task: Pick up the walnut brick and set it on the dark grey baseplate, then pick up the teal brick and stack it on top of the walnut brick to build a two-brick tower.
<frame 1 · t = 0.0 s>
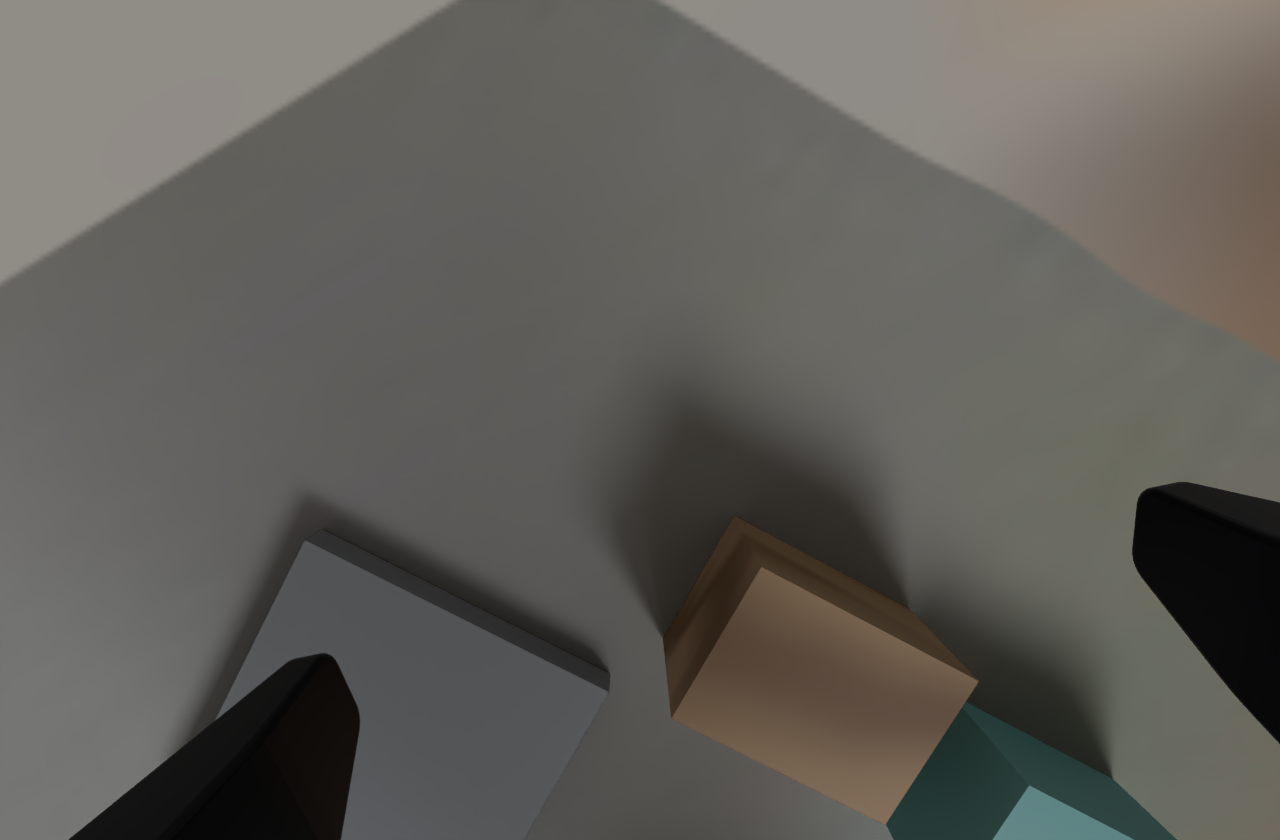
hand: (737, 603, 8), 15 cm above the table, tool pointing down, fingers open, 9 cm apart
walnut brick: (785, 621, 24), on the table
teal brick: (993, 790, 25), on the table
baseplate: (398, 733, 25), on the table
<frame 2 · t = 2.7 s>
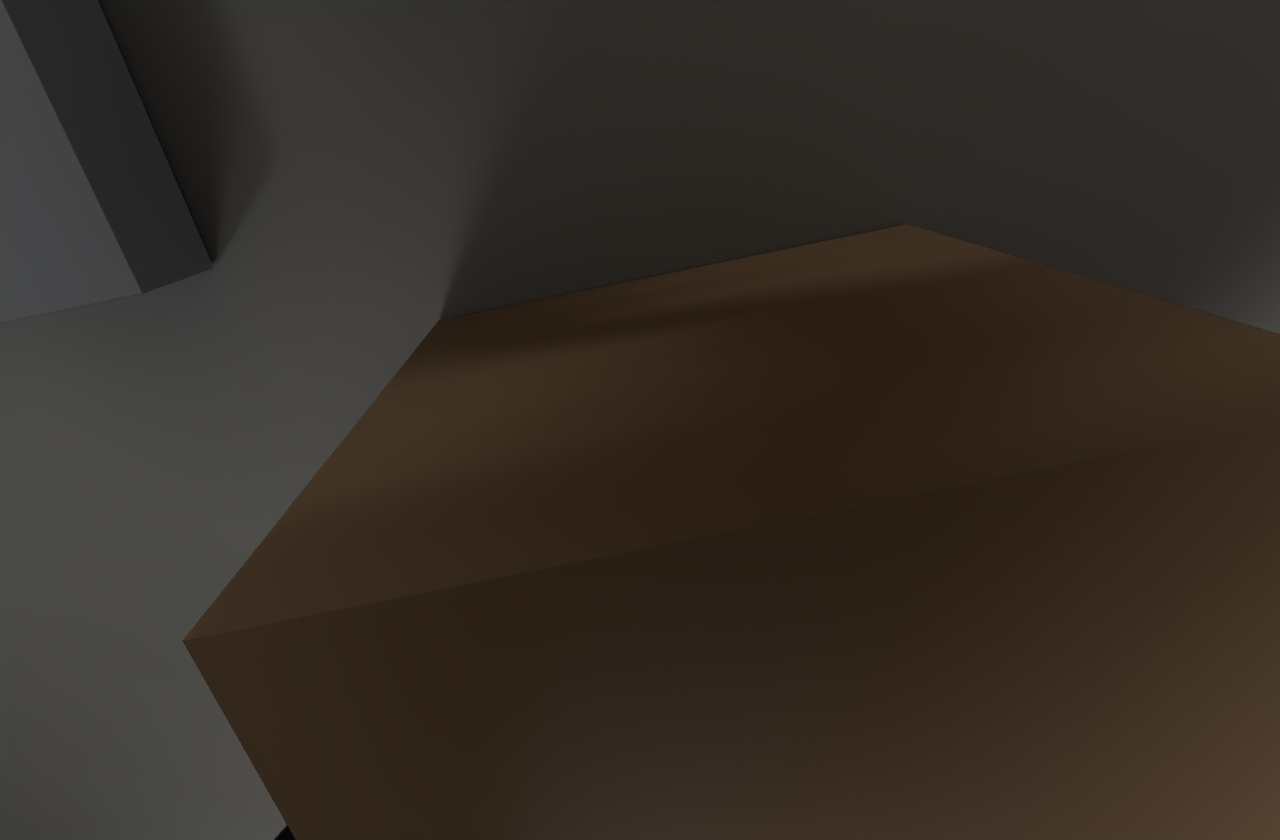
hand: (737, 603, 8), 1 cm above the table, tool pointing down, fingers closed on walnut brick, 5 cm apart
walnut brick: (720, 549, 9), on the table, touching gripper
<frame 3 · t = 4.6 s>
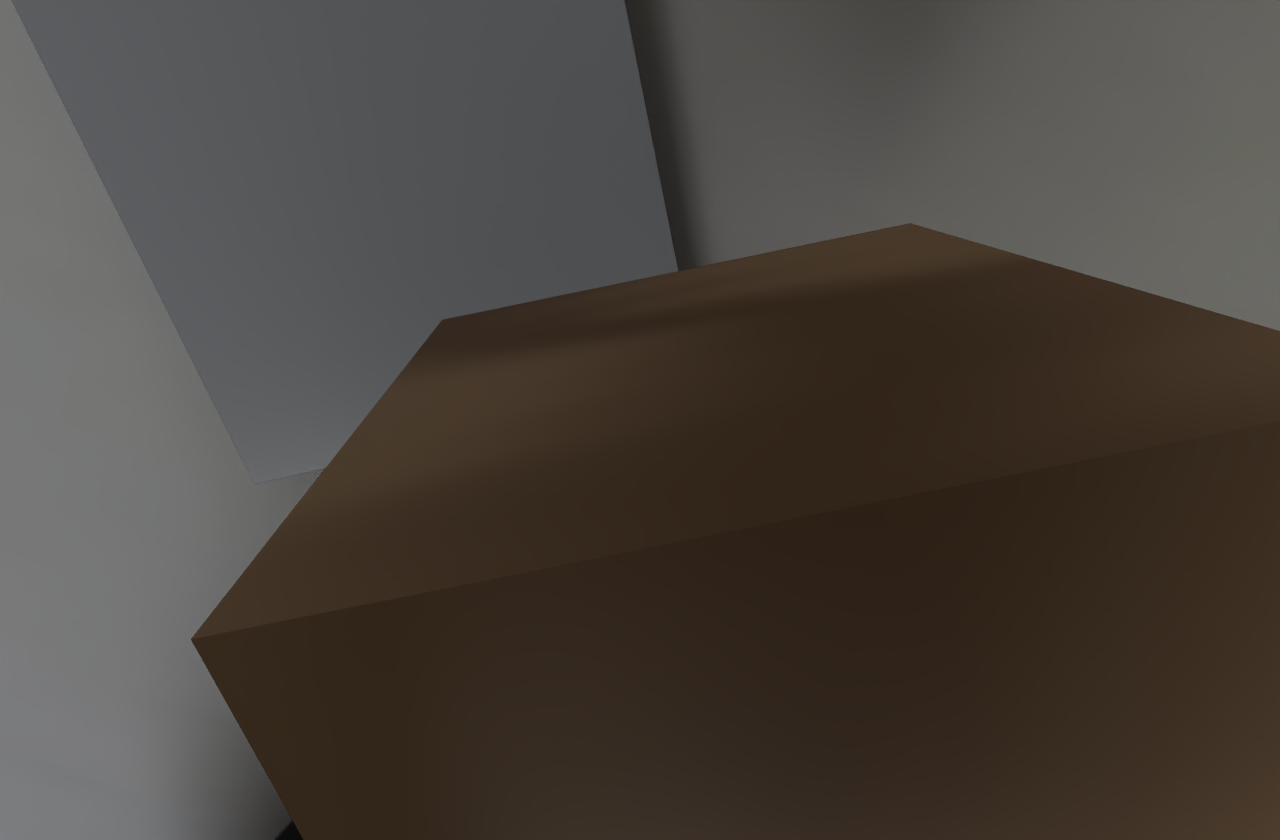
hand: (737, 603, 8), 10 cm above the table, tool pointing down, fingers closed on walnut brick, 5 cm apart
walnut brick: (722, 549, 9), point 9 cm above the table, touching gripper
baseplate: (407, 193, 16), on the table
when the fingers open (4 cm above the table, at t = 6.9 s): walnut brick drops 1 cm, resting on baseplate.
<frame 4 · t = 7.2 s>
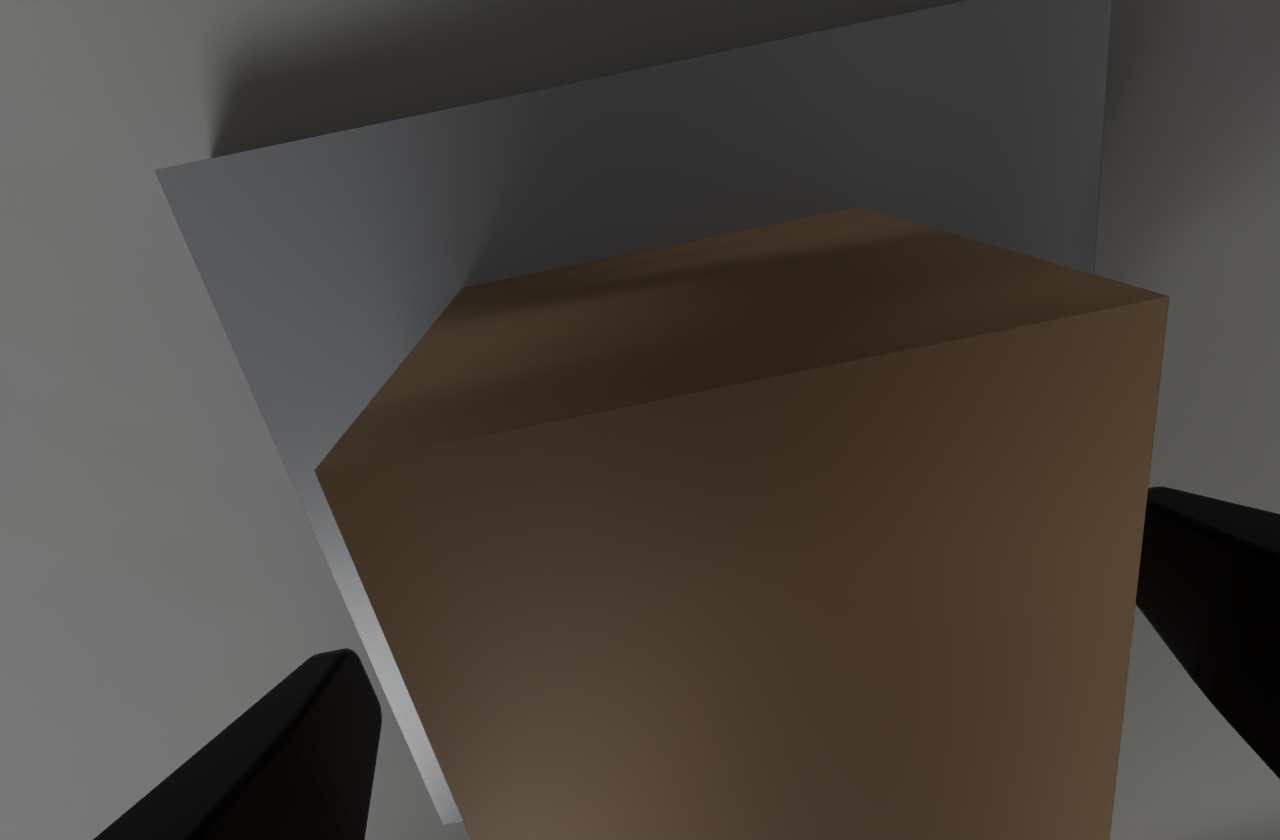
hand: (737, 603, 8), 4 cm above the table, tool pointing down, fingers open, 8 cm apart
walnut brick: (702, 491, 10), point 1 cm above the table, touching baseplate
baseplate: (692, 456, 11), on the table
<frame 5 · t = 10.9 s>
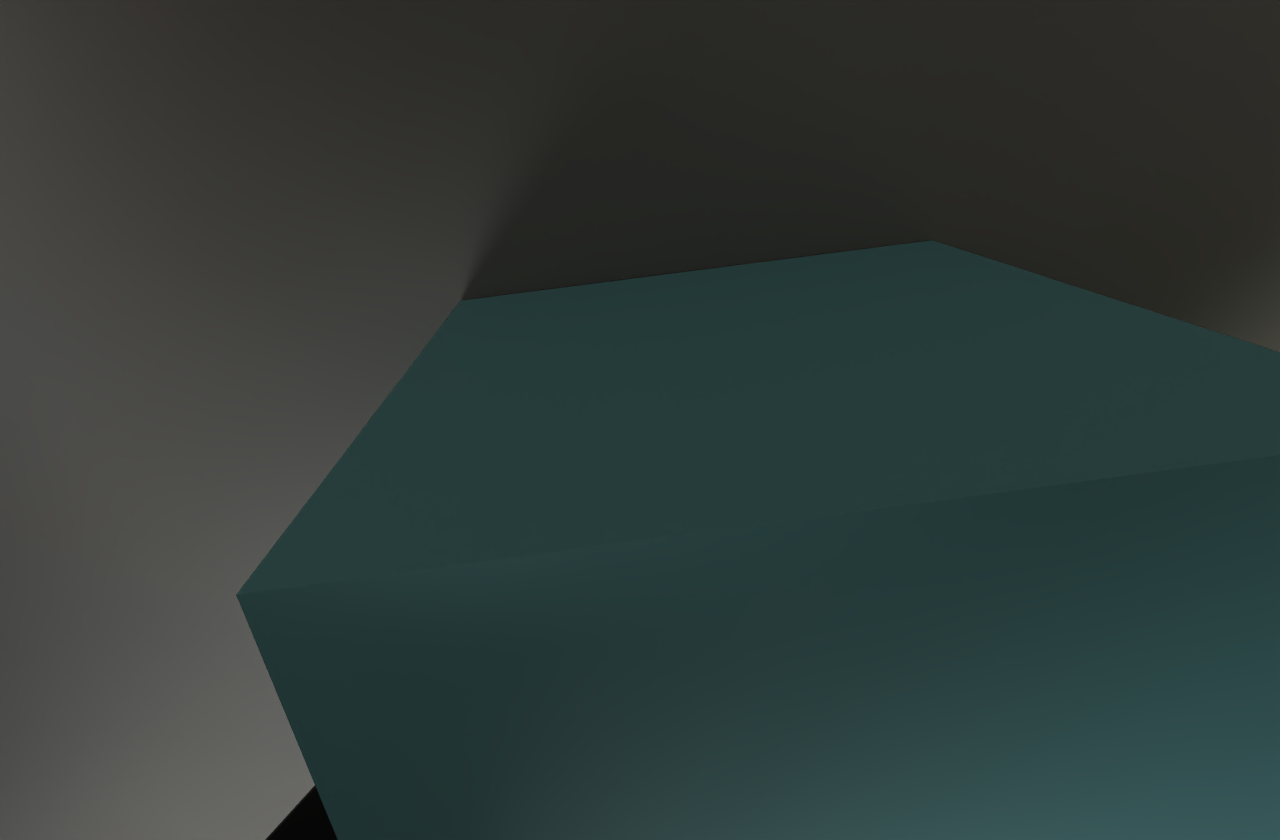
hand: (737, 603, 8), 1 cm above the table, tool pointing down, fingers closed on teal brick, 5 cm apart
teal brick: (720, 550, 9), on the table, touching gripper
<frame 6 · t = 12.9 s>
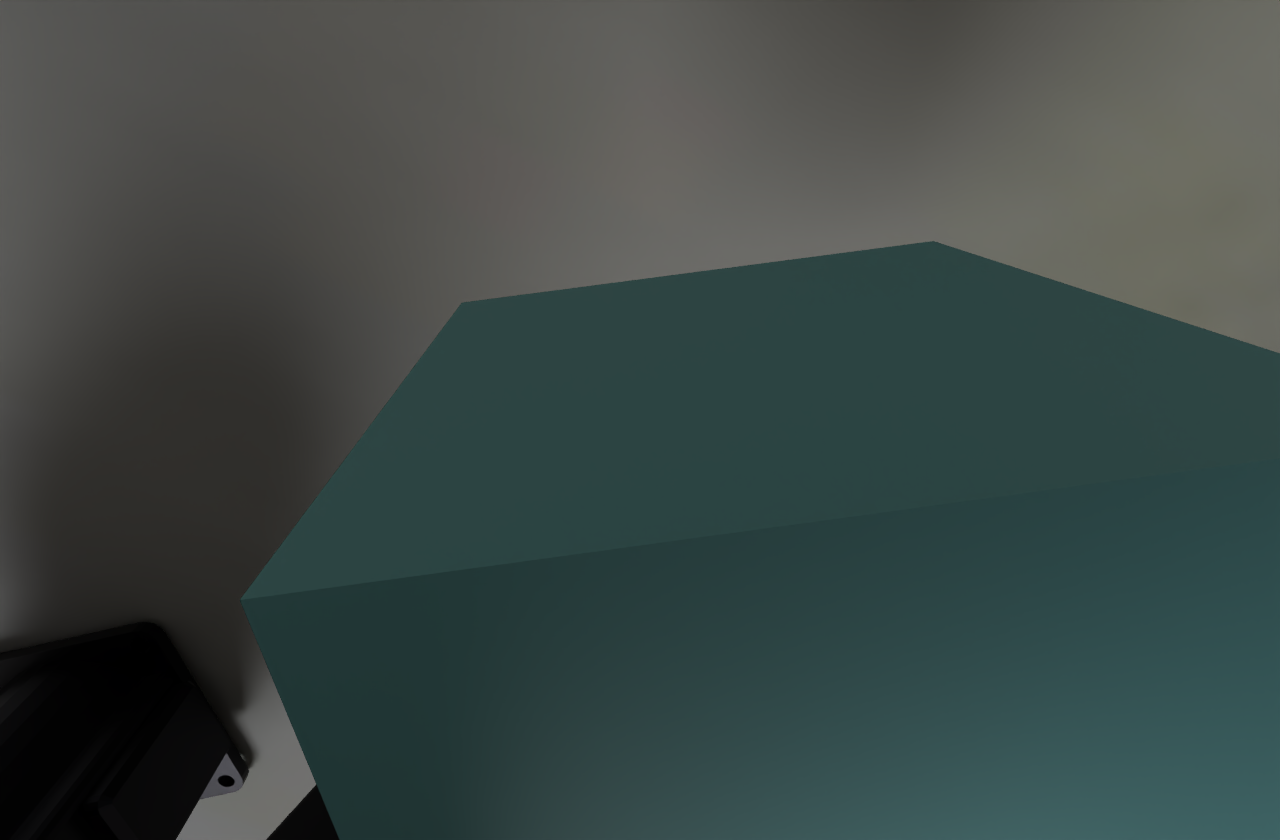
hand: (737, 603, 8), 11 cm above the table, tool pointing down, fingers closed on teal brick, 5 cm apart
teal brick: (722, 552, 9), point 10 cm above the table, touching gripper
when the fingers open (8 cm above the table, at t = 14.9 s): teal brick stays where it is, resting on walnut brick.
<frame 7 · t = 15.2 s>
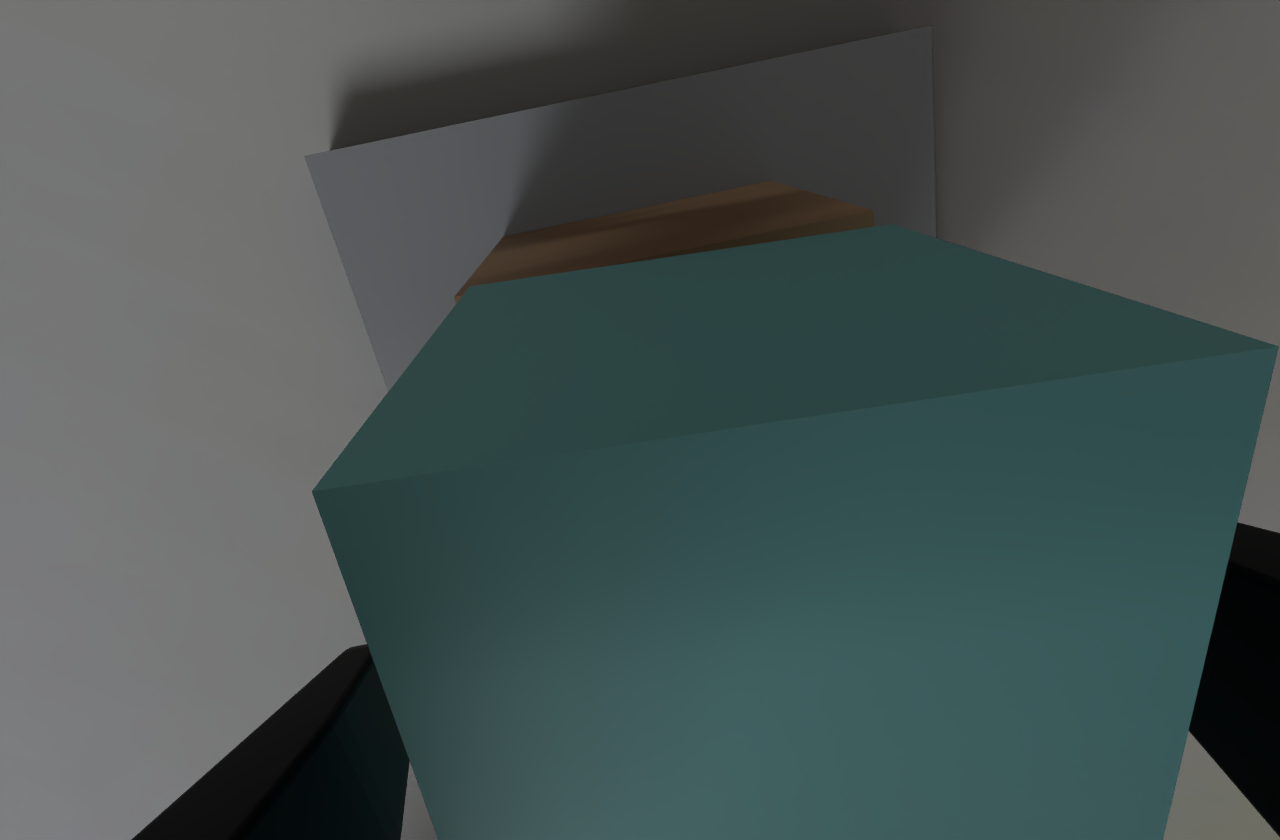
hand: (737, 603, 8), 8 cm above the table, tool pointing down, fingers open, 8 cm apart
walnut brick: (669, 384, 14), point 1 cm above the table, touching baseplate, teal brick
teal brick: (709, 512, 10), point 6 cm above the table, touching walnut brick
baseplate: (664, 367, 15), on the table
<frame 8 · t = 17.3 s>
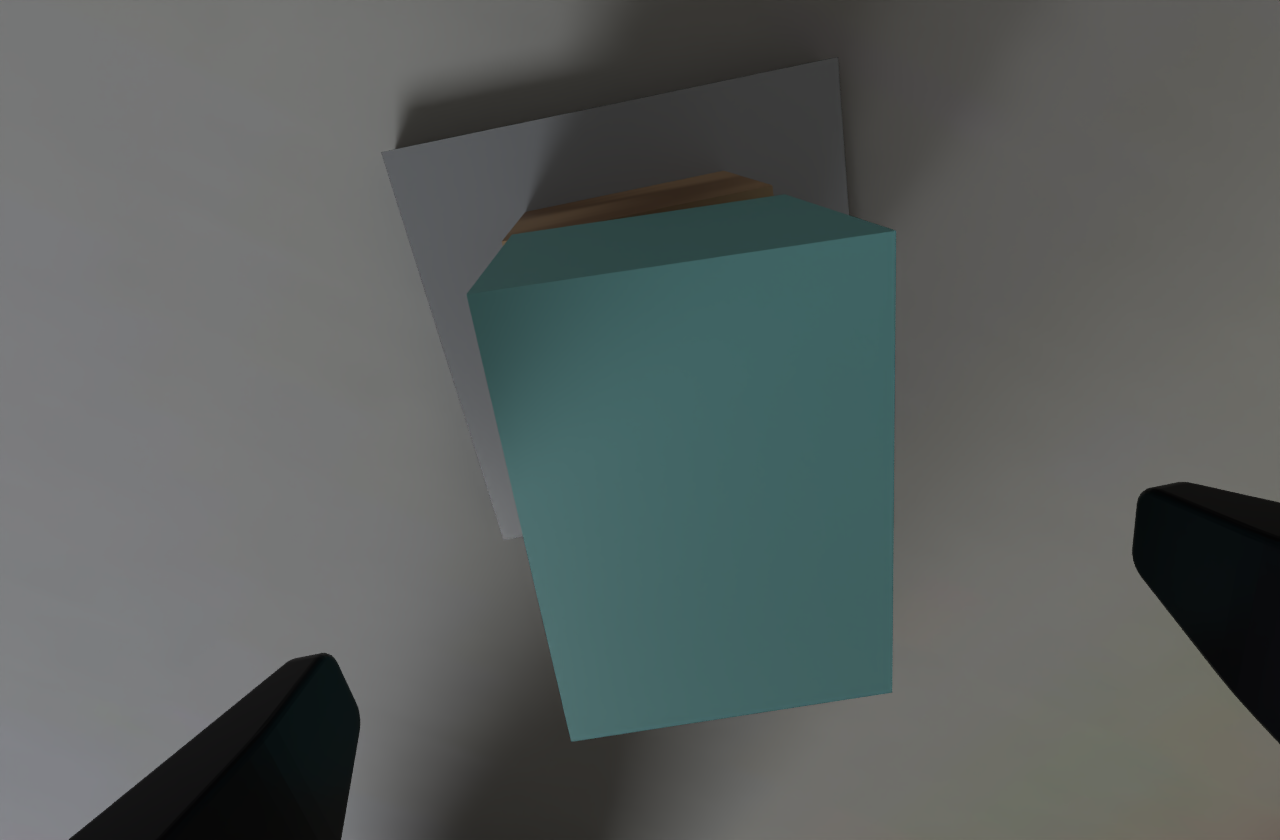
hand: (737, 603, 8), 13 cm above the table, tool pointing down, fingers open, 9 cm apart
walnut brick: (650, 326, 19), point 1 cm above the table, touching baseplate, teal brick
teal brick: (671, 393, 14), point 6 cm above the table, touching walnut brick
baseplate: (647, 316, 20), on the table
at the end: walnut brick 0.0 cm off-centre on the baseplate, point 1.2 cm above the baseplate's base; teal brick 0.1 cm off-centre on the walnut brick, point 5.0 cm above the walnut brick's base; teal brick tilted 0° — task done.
